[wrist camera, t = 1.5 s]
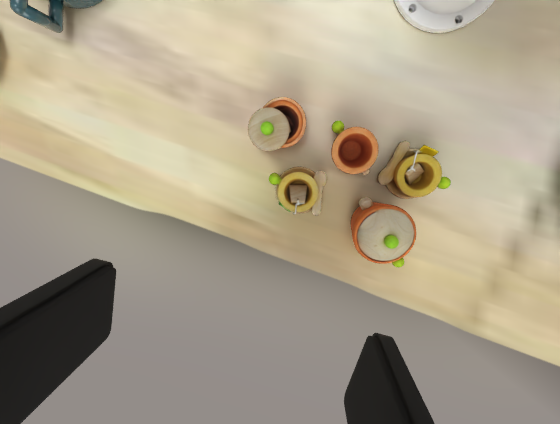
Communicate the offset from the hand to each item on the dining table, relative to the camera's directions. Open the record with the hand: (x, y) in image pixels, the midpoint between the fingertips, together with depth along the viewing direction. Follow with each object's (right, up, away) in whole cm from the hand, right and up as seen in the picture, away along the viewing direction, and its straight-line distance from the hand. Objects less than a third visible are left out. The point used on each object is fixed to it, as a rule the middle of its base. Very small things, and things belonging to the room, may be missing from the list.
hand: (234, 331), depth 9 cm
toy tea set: (+10, +9, +27) cm, 30 cm away
